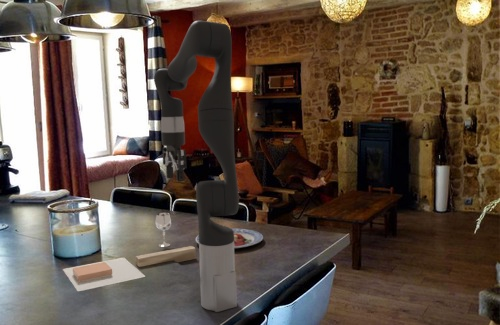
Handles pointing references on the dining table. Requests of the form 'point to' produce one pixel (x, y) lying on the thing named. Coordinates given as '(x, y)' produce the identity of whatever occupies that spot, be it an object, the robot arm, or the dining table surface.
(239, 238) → the ceramic plate
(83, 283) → the white panel
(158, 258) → the oak stick
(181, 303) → the dining table surface
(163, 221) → the wineglass
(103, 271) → the tile
